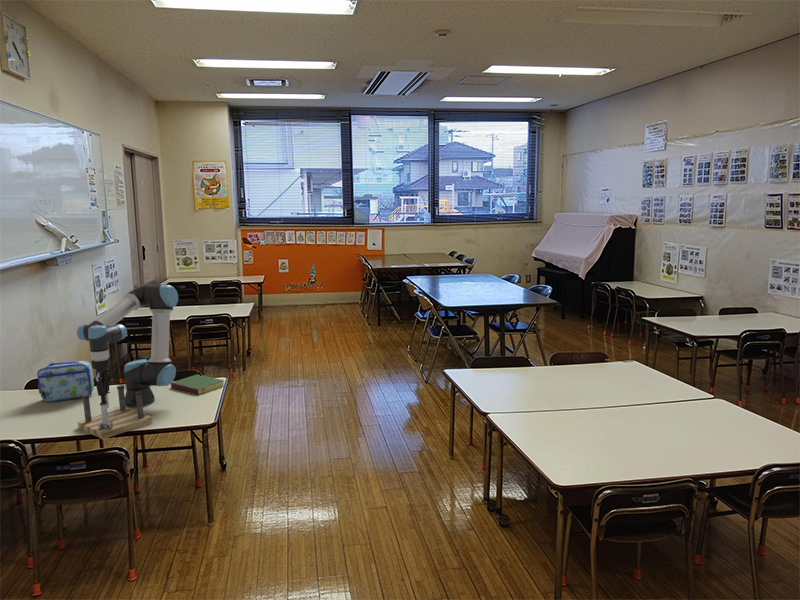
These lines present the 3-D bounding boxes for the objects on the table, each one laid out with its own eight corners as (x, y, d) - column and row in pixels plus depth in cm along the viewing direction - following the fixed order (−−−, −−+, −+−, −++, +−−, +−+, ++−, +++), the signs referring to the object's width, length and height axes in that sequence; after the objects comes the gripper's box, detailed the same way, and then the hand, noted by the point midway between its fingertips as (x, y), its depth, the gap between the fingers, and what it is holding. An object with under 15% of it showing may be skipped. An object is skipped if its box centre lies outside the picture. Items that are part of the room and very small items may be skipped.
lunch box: (38, 404, 301) (33, 367, 298) (44, 397, 311) (39, 362, 308) (92, 398, 309) (87, 362, 306) (96, 392, 319) (91, 357, 316)
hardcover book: (171, 388, 325) (170, 382, 325) (198, 380, 341) (197, 374, 340) (198, 395, 312) (198, 389, 311) (225, 386, 328) (224, 380, 327)
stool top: (78, 427, 268) (74, 396, 265) (126, 412, 287) (123, 383, 284) (102, 439, 254) (99, 406, 251) (152, 422, 273) (149, 391, 270)
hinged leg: (109, 427, 260) (108, 429, 257) (104, 427, 259) (102, 429, 257) (107, 401, 258) (105, 402, 256) (101, 401, 258) (99, 403, 255)
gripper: (97, 355, 261) (102, 403, 265) (86, 363, 248) (91, 413, 252) (113, 355, 262) (118, 402, 266) (103, 362, 249) (109, 412, 253)
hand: (105, 407), depth 259 cm, fingers closed
